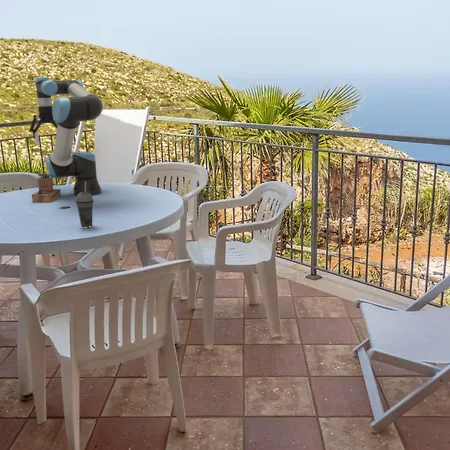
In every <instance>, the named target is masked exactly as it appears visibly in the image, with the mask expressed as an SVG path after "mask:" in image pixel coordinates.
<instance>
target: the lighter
mask: <svg viewBox="0 0 450 450" xmlns="http://www.w3.org/2000/svg"><path fill="white" fill-rule="evenodd" d="M37 176H38V177H37V186H38V191H39V192H42V193H50V192H54V190H53V189H54V185H53V178H51V177H50V174H48V172H45V173H38V175H37Z"/></svg>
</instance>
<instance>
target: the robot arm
mask: <svg viewBox="0 0 450 450" xmlns="http://www.w3.org/2000/svg"><path fill="white" fill-rule="evenodd" d="M34 84H35V90H36V98H37V105H38V108H37V109H38V114H34V115H33V120H32V122H31V125H30V128H29V133H30V132H31V133H32V134H33V138H34V140H35V145H39V144H40V139H39V132H38V130H39V129H40V128H41V126H42V125H43V123H45V124H46V123H47V124H50V123H51V125H53V126H54V127H55V128H56V135H55V140H54V148H53V150H52V151H51V152H50V154H49V155H50V156H49V155H48V156H46V157H45V158H44V161H45V167H46V170H47V174H50V178H52V179H59V178H67V177H75V179H74V180H75V181H74V185H73V189H72V190H73V195H74V196H77V195H78V194H79V193H80V192H83V191H85V181H86V192H88V193H90V194H91V195H92V196H95V195H98V194H101V193H102V188H101V185H100V183H99V180H98V176H97V163H96V155H95V154H94V153H92V152H88V151H77V150H76V151H73V152H72V149H73V145H74V140H75V134H76V129H78V128H79V126H80V125H81V122H88V121H94V120H96V119H97V118H99V117H100V116H101V114H102V112H103V111H104V103H103V101H102V100H101V98H100V97H99V96H97V95H95V94H93V93H90V92H89V91H88V90H87V89H86V88H84V84H83V82H82V81H81V80H80V79H79V80H77V79H72V80H71V79H69V80H66V79H65V80H63V79H61V80H59V79H58V80H54V79H53V80H52V79H50V77H49V76H36V77H35V83H34ZM63 95H67V96H63ZM68 95H69V96H68ZM52 96H61V97H56V98H55V99H54V101H53V100H52ZM38 119H39V121H38ZM37 121H38V122H37Z"/></svg>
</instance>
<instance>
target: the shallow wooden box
mask: <svg viewBox="0 0 450 450" xmlns="http://www.w3.org/2000/svg"><path fill="white" fill-rule="evenodd" d="M53 190H54V192H50V193H42V192H39V190H38V191H36V192H34V193H32V194H31V199H32V200H31V201H32V203H40V204H41V203H42V204H43V203H45V204H46V203H53V202H55V201H57V200H58V199H59V198H61V197H62V193H61V189H60V188H59V189H58V188H57V189H56V188H53Z"/></svg>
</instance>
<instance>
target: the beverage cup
mask: <svg viewBox="0 0 450 450" xmlns="http://www.w3.org/2000/svg"><path fill="white" fill-rule="evenodd" d="M75 203H76V206H77V210H78V211H77V212H78V216H79V222H80V226H81V228H82V227H89V226H92V227H93V205H94V199H93V195H91V194H90V193H88V192H86V181H85V191H83V192H80V193H79V194H78V195H76V198H75Z"/></svg>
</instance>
